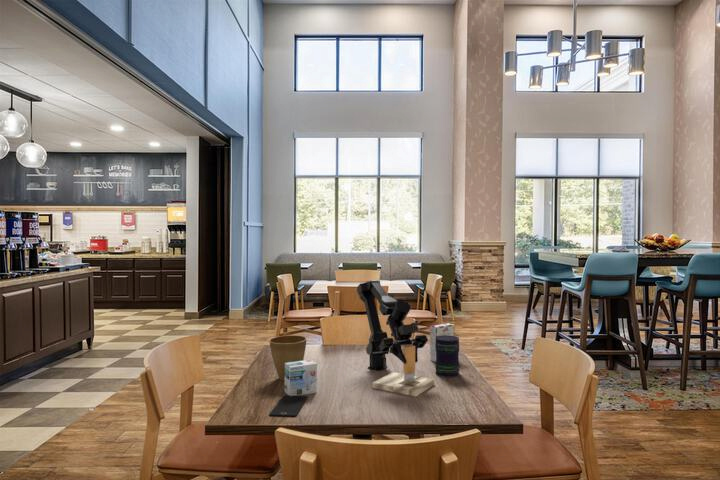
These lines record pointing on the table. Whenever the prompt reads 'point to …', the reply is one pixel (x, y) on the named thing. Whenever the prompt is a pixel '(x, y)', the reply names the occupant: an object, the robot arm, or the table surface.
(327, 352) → the table surface
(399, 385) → the subfloor panel
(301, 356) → the plant pot
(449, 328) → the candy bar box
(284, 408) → the cell phone
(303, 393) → the light bulb box
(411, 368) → the orange rounded cylinder
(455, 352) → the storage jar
